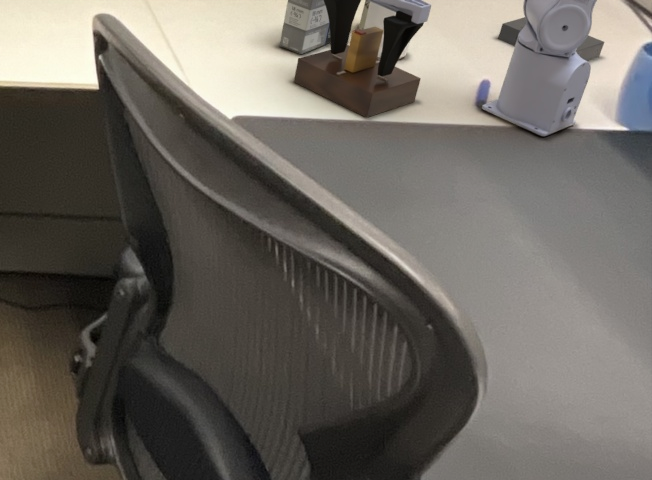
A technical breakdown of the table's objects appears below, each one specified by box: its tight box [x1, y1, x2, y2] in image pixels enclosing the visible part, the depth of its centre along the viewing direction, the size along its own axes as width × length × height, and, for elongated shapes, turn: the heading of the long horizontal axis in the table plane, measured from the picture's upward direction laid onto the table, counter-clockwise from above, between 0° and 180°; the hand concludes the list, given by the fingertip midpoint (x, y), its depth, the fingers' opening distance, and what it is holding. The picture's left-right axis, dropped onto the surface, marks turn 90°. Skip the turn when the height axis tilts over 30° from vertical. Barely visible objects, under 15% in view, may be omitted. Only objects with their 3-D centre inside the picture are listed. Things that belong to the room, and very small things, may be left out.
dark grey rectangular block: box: [497, 16, 605, 62], centre depth 161 cm, size 12×9×4 cm
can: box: [364, 2, 411, 60], centre depth 148 cm, size 6×6×12 cm
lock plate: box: [293, 44, 421, 118], centre depth 139 cm, size 12×10×3 cm
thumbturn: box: [344, 27, 383, 73], centre depth 137 cm, size 5×1×5 cm, turn 135°
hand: (360, 63), depth 138 cm, fingers open, 7 cm apart
